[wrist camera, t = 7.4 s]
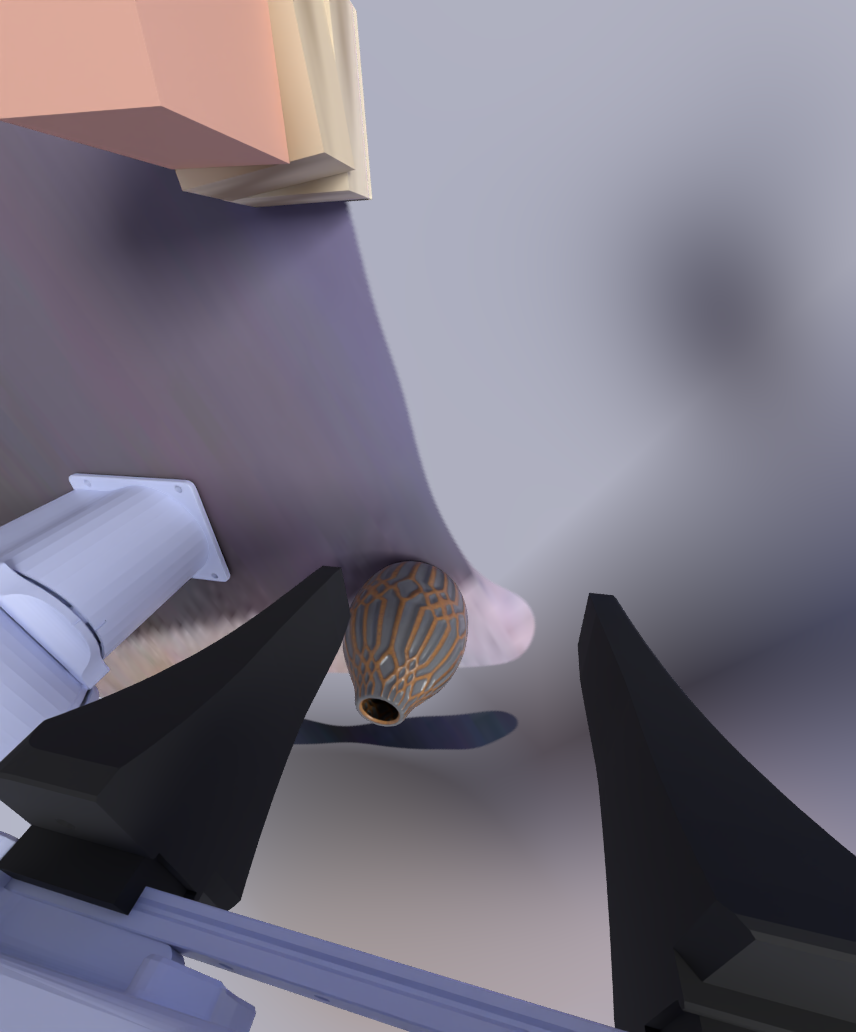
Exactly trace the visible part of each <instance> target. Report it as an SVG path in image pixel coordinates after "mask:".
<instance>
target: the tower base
mask: <svg viewBox="0 0 856 1032" xmlns="http://www.w3.org/2000/svg"><path fill="white" fill-rule="evenodd" d="M324 2H325V8H326V13H327V19H328V24H329V30H330V35H331V40H332V46H333V51H334V57H335V62H336V68H337V73H338V79H339V84H340V90H341V95H342V100H343V106H344V111H345V117H346V122H347V128H348V133H349V139H350V144H351V150H352V155H353V160H354V166H355V170H352V171H348V172H344V173H340V174H336V175H332V176H328V177H324V178H320V179H316V180H313V181H309V182H305V183H301V184H297V185H293V186H289V187H285V188H281V189H277V190H273V191H269V192H265V193H261V194H258V195H254V196H250V197H246V198H242V199H238V200H234V201H228V202H233V203H238V204H242V205H247V206H252V207H265V206H278V205H291V204H304V203H317V202H331V201H344V200H347V202H349V201H361V200H372V190H371V179H370V178H371V177H370V165H369V154H368V142H367V130H366V119H365V107H364V95H363V82H362V70H361V59H360V47H359V36H358V23H357V11H356V9H355V8H354V6H353V5H352V3H351V2H350V0H324ZM223 201H227V200H223Z"/></svg>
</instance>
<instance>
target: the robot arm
mask: <svg viewBox="0 0 856 1032" xmlns="http://www.w3.org/2000/svg"><path fill="white" fill-rule="evenodd" d="M69 481H70V483H71V485H72V487H73V488H74V490H73V491H71V492H69V493H67V494H65V495H63V496H61V497H59V498H57V499H55V500H53V501H51V502H49V503H47V504H45V505H43V506H41V507H39V508H37V509H35V510H33V511H31V512H29V513H27V514H25V515H23V516H21V517H19V518H17V519H15V520H13V521H11V522H9V523H7V524H5V525H3V526H1V527H0V800H1V801H2V802H4V803H5V804H6V805H7V806H9V807H10V808H11V809H12V810H14V811H15V812H16V813H17V814H19V815H20V816H21V817H22V818H24V819H25V820H26V821H27V822H29V823H30V824H31V826H30V828H29V829H28V830H27V831H26V832H25V833H24V834H23V836H22V837H21V838H20V839H18V838H16V837H14V836H12V835H10V834H7V833H4V832H2V831H0V1032H249V1031H250V1028H251V1025H252V1023H253V1020H254V1017H255V1014H256V1011H255V1007H254V1006H253V1005H251V1004H249V1003H247V1002H246V1001H244V1000H242V999H241V998H239V997H237V996H236V995H234V994H233V993H232V992H230V991H229V990H228V989H226V987H225V986H224V985H223V983H222V982H221V981H219V980H216V979H214V978H211V977H209V976H207V975H205V974H202V973H200V972H198V971H196V970H193V969H191V968H188V967H186V966H185V962H184V958H183V956H186V957H189V958H192V959H195V960H198V961H201V962H204V963H207V964H210V965H213V966H216V967H219V968H222V969H225V970H228V971H231V972H234V973H237V974H240V975H243V976H245V977H249V978H252V979H255V980H257V981H260V982H263V983H266V984H269V985H272V986H275V987H278V988H281V989H284V990H287V991H290V992H293V993H296V994H299V995H302V996H305V997H308V998H311V999H314V1000H317V1001H320V1002H323V1003H326V1004H329V1005H332V1006H335V1007H338V1008H341V1009H344V1010H347V1011H350V1012H353V1013H356V1014H359V1015H362V1016H365V1017H368V1018H371V1019H374V1020H377V1021H379V1022H382V1023H385V1024H388V1025H391V1026H394V1027H397V1028H401V1029H403V1030H406V1031H409V1032H856V856H855V855H853V854H852V853H851V852H850V851H848V850H847V849H846V848H845V847H844V846H842V845H841V844H840V843H839V842H838V841H836V840H835V839H834V838H833V837H832V836H830V835H829V834H828V833H827V832H826V831H825V830H824V829H822V828H821V827H820V826H819V825H818V824H817V823H815V822H814V821H813V820H812V819H811V818H810V817H808V816H807V815H806V814H805V813H804V812H803V811H801V810H800V809H799V808H798V807H797V806H796V805H795V804H793V803H792V802H791V801H790V800H789V799H788V798H787V797H786V796H785V795H784V794H783V793H781V792H780V791H779V790H778V789H777V788H776V787H775V786H774V785H773V784H772V783H771V782H770V781H769V780H768V779H767V778H766V777H764V776H763V775H762V774H761V773H760V772H759V771H758V770H757V769H756V768H755V767H754V766H753V765H752V764H751V763H750V762H748V761H747V760H746V759H745V758H744V757H743V756H742V755H741V754H740V753H739V752H738V751H737V750H736V749H735V748H734V747H733V746H732V745H731V744H730V743H729V742H728V741H727V740H726V739H725V738H724V736H723V735H722V734H721V733H720V732H719V731H718V730H717V729H716V728H715V727H714V726H713V725H712V724H711V723H710V722H709V720H708V719H707V718H706V717H705V716H704V715H703V714H702V713H701V712H700V710H699V709H698V708H697V707H696V706H695V705H694V703H693V702H692V701H691V700H690V699H689V698H688V696H687V695H686V694H685V693H684V692H683V690H682V689H681V688H680V687H679V686H678V684H677V683H676V682H675V681H674V679H672V677H671V676H670V675H669V673H668V672H667V671H666V669H665V668H664V667H663V666H662V664H661V663H660V661H659V660H658V659H657V657H656V656H655V655H654V653H653V652H652V651H651V649H650V648H649V647H648V645H647V644H646V643H645V641H644V640H643V638H642V637H641V635H640V634H639V632H638V631H637V630H636V628H635V627H634V625H633V624H632V622H631V621H630V619H629V618H628V616H627V615H626V613H625V611H624V610H623V608H622V607H621V605H620V604H619V602H618V600H617V599H616V598H615V597H614V596H613V595H604V594H594V593H589V596H588V601H587V605H586V610H585V614H584V619H583V624H582V628H581V633H580V637H579V643H578V655H579V670H580V682H581V688H582V693H583V699H584V705H585V710H586V715H587V721H588V726H589V732H590V737H591V742H592V748H593V753H594V759H595V764H596V771H597V778H598V785H599V795H600V806H601V817H602V828H603V840H604V853H605V866H606V878H607V879H606V880H607V895H608V910H609V925H610V942H611V961H612V981H613V1003H614V1022H615V1028H613V1027H610V1026H607V1025H603V1024H600V1023H597V1022H594V1021H590V1020H587V1019H583V1018H580V1017H577V1016H574V1015H570V1014H567V1013H563V1012H560V1011H557V1010H554V1009H551V1008H547V1007H544V1006H541V1005H537V1004H534V1003H531V1002H527V1001H524V1000H521V999H517V998H514V997H511V996H507V995H504V994H501V993H498V992H494V991H490V990H488V989H484V988H481V987H478V986H474V985H471V984H468V983H464V982H461V981H458V980H454V979H451V978H448V977H444V976H441V975H438V974H434V973H431V972H428V971H425V970H421V969H418V968H415V967H412V966H408V965H405V964H401V963H398V962H394V961H392V960H388V959H385V958H382V957H378V956H375V955H372V954H368V953H365V952H362V951H359V950H355V949H352V948H349V947H345V946H342V945H339V944H335V943H332V942H329V941H325V940H322V939H319V938H315V937H312V936H309V935H306V934H302V933H299V932H296V931H292V930H289V929H286V928H282V927H279V926H275V925H272V924H269V923H266V922H263V921H259V920H256V919H253V918H249V917H246V916H243V915H239V914H236V913H233V912H229V911H228V910H230V909H231V908H232V907H234V906H235V905H236V904H237V903H238V902H239V901H240V900H241V897H242V894H243V890H244V887H245V883H246V880H247V877H248V874H249V870H250V867H251V864H252V860H253V857H254V854H255V851H256V848H257V845H258V841H259V838H260V835H261V832H262V829H263V826H264V823H265V821H266V818H267V815H268V812H269V809H270V806H271V802H272V800H273V797H274V794H275V791H276V789H277V786H278V783H279V780H280V778H281V775H282V772H283V770H284V767H285V764H286V762H287V759H288V756H289V754H290V751H291V749H292V746H293V744H294V741H295V739H296V736H297V734H298V731H299V729H300V726H301V724H302V722H303V720H304V718H305V715H306V713H307V711H308V709H309V707H310V705H311V703H312V701H313V699H314V697H315V695H316V693H317V692H318V690H319V688H320V686H321V684H322V682H323V680H324V678H325V676H326V674H327V672H328V670H329V668H330V666H331V664H332V662H333V660H334V658H335V656H336V654H337V652H338V650H339V648H340V646H341V643H342V640H343V638H344V635H345V632H346V629H347V626H348V623H349V620H350V617H351V614H350V609H349V604H348V599H347V594H346V589H345V584H344V579H343V574H342V569H341V568H340V567H330V566H322V567H321V568H319V569H318V570H316V571H315V572H314V573H312V574H311V575H310V576H308V577H307V578H306V579H304V580H303V581H302V582H301V583H299V584H298V585H297V586H295V587H294V588H293V589H292V590H290V591H289V592H288V593H286V594H285V595H284V596H282V597H281V598H280V599H278V600H277V601H276V602H274V603H273V604H272V605H270V606H269V607H268V608H266V609H265V610H263V611H262V612H260V613H259V614H258V615H256V616H255V617H253V618H252V619H250V620H249V621H247V622H246V623H245V624H243V625H242V626H240V627H239V628H237V629H236V630H234V631H233V632H231V633H230V634H228V635H226V636H225V637H223V638H222V639H220V640H218V641H217V642H215V643H213V644H212V645H210V646H208V647H207V648H205V649H203V650H201V651H200V652H198V653H196V654H194V655H193V656H191V657H189V658H187V659H185V660H183V661H181V662H179V663H177V664H175V665H173V666H171V667H169V668H167V669H165V670H163V671H162V672H160V673H158V674H156V675H154V676H151V677H149V678H147V679H145V680H143V681H141V682H139V683H136V684H134V685H132V686H130V687H127V688H125V689H123V690H120V691H118V692H116V693H114V694H111V695H109V696H106V697H104V698H102V699H99V691H98V689H97V687H96V686H95V684H96V683H97V682H98V681H99V680H100V679H101V678H102V677H103V676H105V675H106V674H107V673H108V672H109V671H110V669H109V667H108V666H107V665H106V664H105V662H104V661H103V659H105V658H106V657H107V656H108V655H109V654H110V653H111V652H112V651H113V650H114V649H115V648H116V647H117V646H118V645H120V644H121V643H122V642H123V641H124V640H125V639H126V638H127V637H128V636H129V635H130V634H131V633H132V632H133V631H135V630H136V629H137V628H138V627H139V626H140V625H141V624H142V623H143V622H144V621H145V620H146V619H147V618H148V617H150V616H151V615H152V614H153V613H154V612H155V611H156V610H157V609H158V608H159V607H160V606H161V605H162V604H164V603H165V602H166V601H167V600H168V599H169V598H170V597H171V596H172V595H173V594H174V593H175V592H176V591H177V590H179V589H180V588H181V587H182V586H183V585H184V584H185V583H186V582H187V581H188V580H189V579H190V578H196V579H205V580H213V581H222V582H226V581H227V580H228V579H229V578H230V573H229V570H228V568H227V565H226V563H225V560H224V558H223V555H222V553H221V550H220V547H219V545H218V542H217V540H216V537H215V535H214V532H213V530H212V527H211V524H210V522H209V519H208V517H207V514H206V512H205V509H204V507H203V504H202V501H201V499H200V496H199V494H198V491H197V489H196V486H195V485H194V484H193V483H192V482H191V481H188V480H179V479H162V478H145V477H129V476H112V475H96V474H79V473H76V474H73V475H71V476H69ZM180 487H181V488H180ZM182 955H183V956H182Z"/></svg>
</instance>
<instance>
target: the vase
mask: <svg viewBox="0 0 856 1032" xmlns="http://www.w3.org/2000/svg"><path fill="white" fill-rule="evenodd" d="M350 614H351V617H350V620H349V623H348V626H347V629H346V632H345V635H344V638H343V652H344V658H345V662H346V665H347V668H348V671H349V674H350V677H351V679H352V682H353V685H354V689H355V705H356V709H357V711H358V712H359V714H360V715H361V716H362V717H364V718H365V719H366V720H368V721H370V722H372V723H374V724H377V725H381V726H395V725H398V724H400V723H401V722H402V721H403V720H404V719H405V718H406V717H407V715H408V714H409V713H410V712H411V711H412V710H413V709H414V708H415V707H417V706H418V705H420V704H421V703H423V702H424V701H426V700H427V699H429V698H430V697H432V696H433V695H435V694H436V693H438V692H439V691H440V690H441V689H442V688H443V687H444V686H445V685H446V684H447V683H448V682H449V680H450V679H451V678H452V676H453V675H454V673H455V671H456V669H457V668H458V666H459V664H460V662H461V659H462V657H463V654H464V651H465V647H466V642H467V634H468V616H467V609H466V605H465V602H464V599H463V596H462V594H461V592H460V590H459V588H458V587H457V585H456V584H455V583H454V581H453V580H452V579H451V578H450V577H449V576H448V575H447V574H445V573H444V572H443V571H441V570H440V569H438V568H436V567H434V566H432V565H429V564H426V563H422V562H416V561H405V562H399V563H395V564H392V565H389V566H387V567H385V568H383V569H382V570H380V571H378V572H377V573H376V574H374V575H373V576H372V577H371V578H370V579H369V580H368V581H367V582H366V583H365V584H364V585H363V586H362V588H361V589H360V591H359V592H358V594H357V595H356V597H355V599H354V601H353V602H352V604H351V607H350Z"/></svg>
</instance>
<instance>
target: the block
mask: <svg viewBox="0 0 856 1032" xmlns="http://www.w3.org/2000/svg"><path fill="white" fill-rule="evenodd" d="M0 121H4V122H7V123H11V124H14V125H18V126H21V127H25V128H28V129H32V130H35V131H39V132H42V133H46V134H49V135H53V136H56V137H60V138H63V139H67V140H70V141H74V142H78V143H81V144H85V145H88V146H92V147H95V148H99V149H102V150H106V151H109V152H113V153H116V154H120V155H123V156H127V157H130V158H134V159H137V160H141V161H144V162H148V163H151V164H155V165H158V166H162V167H165V168H169V169H189V168H210V167H231V166H252V165H273V164H290V162H289V155H288V148H287V140H286V133H285V125H284V118H283V111H282V103H281V96H280V89H279V81H278V74H277V66H276V59H275V52H274V44H273V37H272V30H271V22H270V15H269V8H268V0H0Z"/></svg>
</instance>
